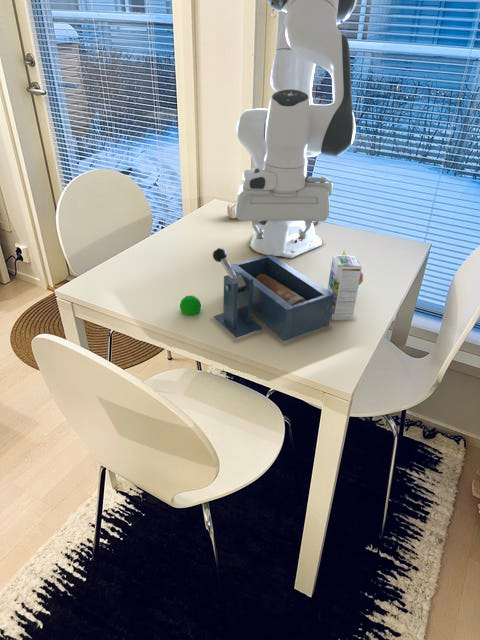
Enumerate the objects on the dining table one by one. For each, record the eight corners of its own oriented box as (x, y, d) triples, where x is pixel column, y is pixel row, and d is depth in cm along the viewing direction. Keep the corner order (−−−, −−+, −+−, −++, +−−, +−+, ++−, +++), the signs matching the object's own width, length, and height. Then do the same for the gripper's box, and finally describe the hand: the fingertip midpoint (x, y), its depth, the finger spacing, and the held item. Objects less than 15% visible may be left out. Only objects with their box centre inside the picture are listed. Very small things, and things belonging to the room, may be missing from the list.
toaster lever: (209, 256, 116) (211, 246, 114) (221, 253, 118) (224, 243, 115) (233, 295, 111) (236, 286, 109) (245, 292, 113) (249, 283, 110)
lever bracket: (213, 320, 119) (213, 272, 112) (238, 312, 122) (239, 264, 115) (236, 341, 112) (237, 291, 105) (261, 332, 115) (264, 283, 108)
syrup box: (323, 308, 125) (330, 255, 117) (347, 307, 125) (355, 254, 117) (329, 321, 120) (336, 266, 112) (353, 320, 120) (362, 265, 113)
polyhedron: (193, 306, 124) (192, 289, 121) (205, 315, 121) (205, 297, 118) (176, 313, 121) (175, 296, 119) (188, 322, 118) (187, 304, 116)
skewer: (232, 221, 171) (232, 207, 168) (226, 215, 176) (226, 201, 173) (288, 215, 177) (289, 201, 174) (280, 209, 182) (281, 195, 179)
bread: (287, 325, 114) (289, 303, 110) (249, 287, 128) (249, 267, 125) (311, 318, 116) (313, 297, 113) (270, 282, 130) (271, 263, 127)
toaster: (269, 284, 134) (271, 254, 129) (329, 328, 117) (333, 294, 113) (228, 297, 128) (228, 265, 123) (284, 344, 111) (287, 310, 107)
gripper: (330, 172, 108) (323, 232, 116) (235, 171, 107) (234, 232, 114) (337, 181, 103) (329, 244, 110) (236, 181, 102) (235, 244, 109)
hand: (280, 238), depth 112 cm, fingers open, 8 cm apart
